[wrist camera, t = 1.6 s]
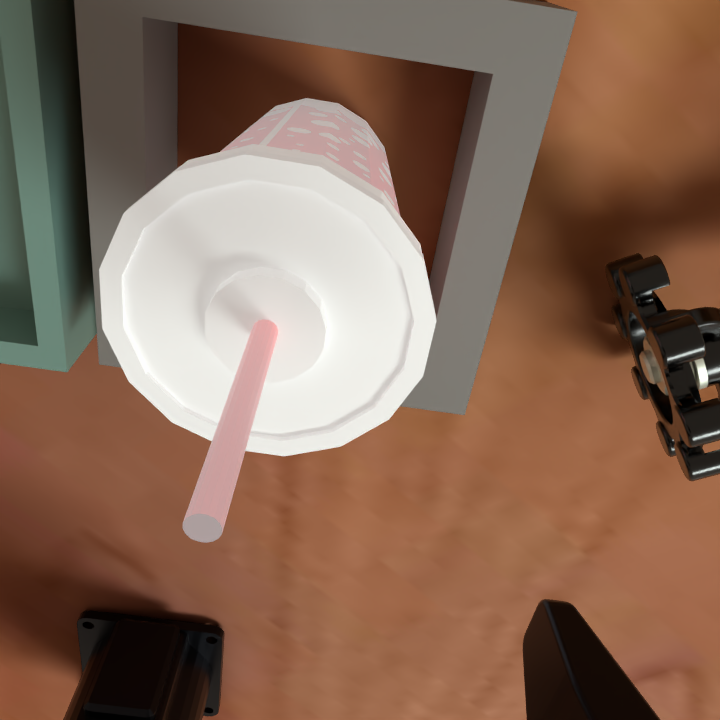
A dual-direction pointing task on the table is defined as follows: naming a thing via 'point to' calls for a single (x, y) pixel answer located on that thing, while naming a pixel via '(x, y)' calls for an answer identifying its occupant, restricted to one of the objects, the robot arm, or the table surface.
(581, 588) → the table surface
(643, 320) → the valve
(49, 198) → the tray
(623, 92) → the table surface
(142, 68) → the holder block
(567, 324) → the table surface
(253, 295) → the beverage cup
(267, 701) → the table surface
